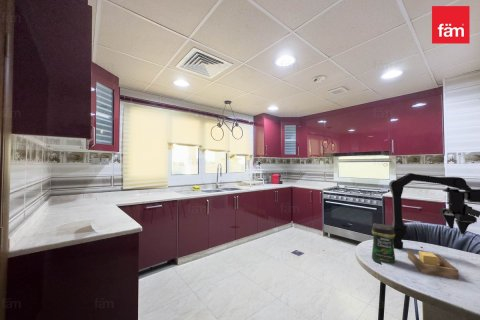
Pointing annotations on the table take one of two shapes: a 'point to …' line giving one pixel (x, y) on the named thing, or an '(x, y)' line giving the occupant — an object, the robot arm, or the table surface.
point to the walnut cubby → (435, 267)
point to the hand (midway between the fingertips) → (456, 231)
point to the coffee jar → (383, 243)
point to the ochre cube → (428, 258)
